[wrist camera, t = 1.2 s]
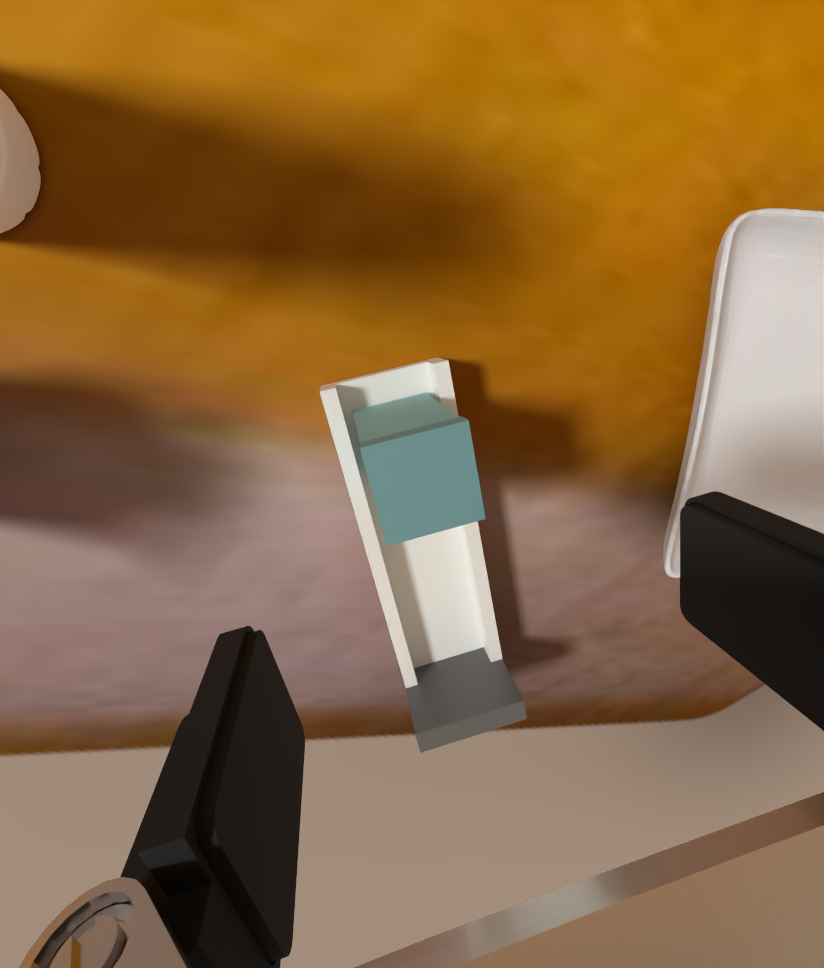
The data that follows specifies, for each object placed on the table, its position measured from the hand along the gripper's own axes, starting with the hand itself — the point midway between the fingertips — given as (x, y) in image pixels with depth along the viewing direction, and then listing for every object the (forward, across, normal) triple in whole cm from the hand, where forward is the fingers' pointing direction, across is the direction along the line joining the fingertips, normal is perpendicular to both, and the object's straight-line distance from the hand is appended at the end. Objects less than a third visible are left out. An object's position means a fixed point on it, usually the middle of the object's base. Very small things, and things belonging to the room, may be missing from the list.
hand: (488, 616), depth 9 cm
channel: (+17, 0, +7) cm, 19 cm away
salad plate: (+18, -27, +5) cm, 33 cm away
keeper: (+16, 0, 0) cm, 16 cm away
